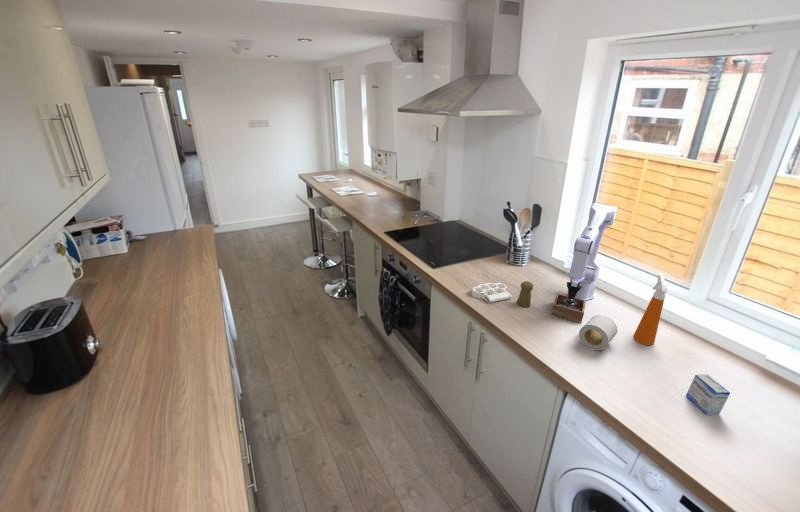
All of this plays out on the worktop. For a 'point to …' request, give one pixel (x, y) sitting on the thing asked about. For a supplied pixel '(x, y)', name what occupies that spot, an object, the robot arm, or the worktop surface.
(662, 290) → the spray bottle
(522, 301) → the brown tapered figure
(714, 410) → the medicine box
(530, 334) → the worktop surface
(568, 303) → the plunger
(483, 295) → the knuckle duster
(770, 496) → the worktop surface
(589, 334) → the toilet paper
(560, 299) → the frame
